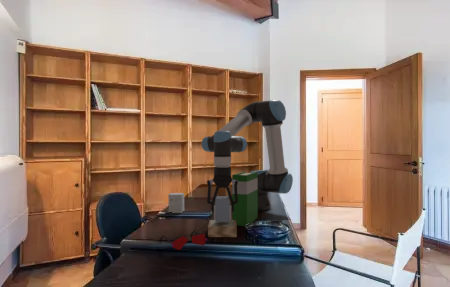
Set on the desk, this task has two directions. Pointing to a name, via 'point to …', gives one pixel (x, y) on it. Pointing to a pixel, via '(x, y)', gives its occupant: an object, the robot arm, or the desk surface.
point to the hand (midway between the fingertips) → (222, 219)
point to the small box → (176, 202)
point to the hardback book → (245, 198)
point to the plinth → (222, 229)
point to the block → (222, 208)
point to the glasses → (181, 241)
